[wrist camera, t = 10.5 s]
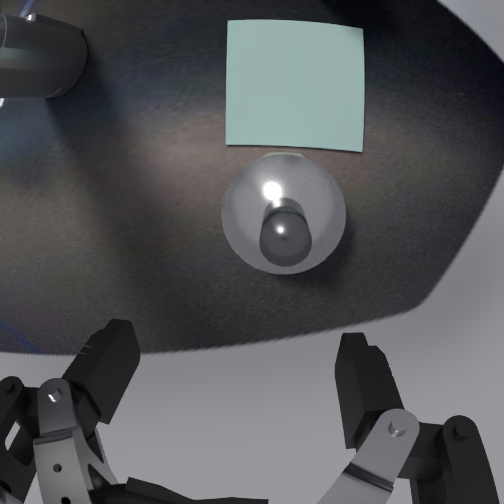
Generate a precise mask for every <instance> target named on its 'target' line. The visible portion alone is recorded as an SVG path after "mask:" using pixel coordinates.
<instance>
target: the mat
mask: <svg viewBox="0 0 504 504" xmlns="http://www.w3.org/2000/svg"><path fill="white" fill-rule="evenodd" d="M363 129H364V43H363V29H360V28H354V27H348V26H341V25H334V24H326V23H317V22H305V21H289V20H234V21H228V36H227V78H226V145H279V146H299V147H314V148H327V149H338V150H349V151H358V152H362V148H363Z"/></svg>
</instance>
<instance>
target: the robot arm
mask: <svg viewBox="0 0 504 504" xmlns="http://www.w3.org/2000/svg"><path fill="white" fill-rule="evenodd" d="M87 52H88V51H87V44H86V42H85V40H84V38H83V37H82V35H81V28H79V27H76V26H73V25H71V24H68V23H65V22H62V21H59V20H56V19H53V18H50V17H47V16H43V15H40V14H36V13H33V14H30V15H29V16H27V17H25V18H22V17H17V16H13V15H8V14H3V13H0V98H25V97H40V98H41V97H42V98H54V97H59V96H62V95H64V94H65V93H67V92H68V91H69V90H70V89H71V88H72V87H73V86H74V85H75V84H76V82H77V81H78V80H79V78H80V76H81V74H82V73H83V70H84V68H85V65H86V60H87ZM139 361H140V348H139V345H138V342H137V338H136V335H135V332H134V328H133V325H132V323H131V322H130V321H128V320H120V319H111V320H110V321H109V323H108V324H107V325H106V327H105V328H104V329H100V330H99V331H98V332H96V333H95V334H93V335H92V336H91V337H90V338H89V340H88V341H87V342H86V344H85V347H84V346H83V348H82V349H81V351H80V354H79V353H78V355H77V356H76V357H75V359H74V360H73V362H72V363H71V365H70V366H69V367H68V369H67V370H66V372H65V373H64V374H63V376H62V378H53V379H49V380H47V381H46V382H44V383H43V384H42V385H41V386H40V388H34V387H25V386H24V384H23V383H22V381H21V380H20V379H19V378H18V377H15V376H9V377H6V378H4V379H3V380H2V381H0V504H23V503H24V501H25V499H26V496H27V493H28V491H29V488H30V486H31V483H32V481H33V478H34V476H35V474H36V471H37V476H38V481H39V486H40V491H41V496H42V500H43V504H268V499H249V498H236V497H229V498H218V499H204V500H193V499H189V498H187V497H184V496H182V495H180V494H178V493H175V492H173V491H171V490H169V489H167V488H165V487H162V486H160V485H157V484H153V483H149V482H145V481H141V480H138V479H134V478H131V477H129V478H128V481H127V483H126V484H119V483H118V481H117V480H116V478H115V476H114V475H113V473H112V472H111V469H110V467H109V465H108V462H107V459H106V456H105V453H104V450H103V447H102V444H101V440H100V437H99V433H98V430H97V428H96V425H97V423H98V421H99V422H102V423H105V424H108V425H109V423H110V421H111V419H112V417H113V415H114V413H115V411H116V409H117V407H118V405H119V402H120V400H121V398H122V396H123V394H124V392H125V390H126V388H127V386H128V384H129V382H130V380H131V378H132V376H133V374H134V372H135V370H136V368H137V366H138V364H139ZM335 380H336V386H337V392H338V398H339V404H340V410H341V417H342V423H343V429H344V437H345V444H346V449H351V448H356V455H355V456H354V458H353V459H352V461H351V462H350V463H349V465H348V466H347V467H346V468H345V469H344V471H343V472H342V473H341V475H340V476H339V477H338V478H337V480H336V481H335V482H334V484H333V485H332V486H331V488H330V489H329V490H328V491H327V492H326V494H325V495H324V496H323V497H322V498H321V500H320V501H319V502H318V503H317V504H385V503H386V502H387V500H388V499H389V497H390V495H391V493H392V491H393V483H394V481H395V479H396V478H405V479H409V480H410V486H411V494H412V501H413V504H499V499H498V495H497V491H496V487H495V483H494V479H493V476H492V472H491V469H490V465H489V462H488V459H487V455H486V452H485V449H484V446H483V443H482V440H481V437H480V434H479V431H478V429H477V426H476V425H475V423H474V422H473V421H472V420H471V419H470V418H468V417H465V416H462V415H457V416H453V417H451V418H449V419H448V420H447V421H446V422H445V423H444V425H440V424H429V423H422V422H419V421H418V420H417V418H416V417H415V416H414V415H413V414H412V413H410V412H408V411H406V410H405V409H404V407H403V404H402V401H401V398H400V395H399V392H398V389H397V387H396V383H395V381H394V378H393V376H392V372H391V370H390V367H389V364H388V362H387V359H386V356H385V354H384V353H383V352H382V351H381V350H380V349H379V348H378V347H377V346H368V343H367V340H366V338H365V335H364V333H362V332H361V333H343V334H342V337H341V342H340V346H339V350H338V354H337V359H336V363H335ZM15 421H16V423H17V424H18V425H19V426H20V429H19V431H18V433H17V435H16V437H15V438H14V440H13V442H12V444H11V446H10V448H9V450H7V449H6V447H5V440H6V437H7V435H8V434H9V432H10V430H11V428H12V426H13V425H14V423H15Z"/></svg>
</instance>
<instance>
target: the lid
mask: <svg viewBox="0 0 504 504" xmlns="http://www.w3.org/2000/svg"><path fill="white" fill-rule="evenodd" d="M221 218H222V225H223V230H224V233H225V236H226V238H227V240H228V242H229V244H230V246H231V247H232V248H233V250H234V251H235V252H236V253H237V254H238V256H239V257H240V258H242V259H243V260H244V261H245V262H247V263H248V264H250V265H251V266H253V267H255V268H257V269H259V270H262V271H265V272H269V273H273V274H294V273H299V272H303V271H306V270H308V269H311V268H313V267H315V266H316V265H318V264H320V263H321V262H322V261H324V260H325V259H326V258H327V257H328V256H329V255H330V254H331V253H332V252H333V251H334V249H335V248H336V246H337V245H338V243H339V241H340V239H341V237H342V234H343V231H344V228H345V222H346V207H345V202H344V198H343V195H342V192H341V190H340V188H339V186H338V184H337V183H336V181H335V180H334V179H333V177H332V176H331V175H330V174H329V173H328V172H327V171H326V170H325V169H324V168H322V167H321V166H320V165H318V164H317V163H315V162H313V161H311V160H309V159H307V158H304V157H301V156H297V155H292V154H275V155H269V156H266V157H263V158H260V159H258V160H256V161H253V162H252V163H250V164H249V165H247V166H246V167H245V168H244V169H242V170H241V171H240V172H239V173H238V174H237V175H236V177H235V178H234V179H233V180H232V182H231V183H230V185H229V187H228V189H227V191H226V193H225V196H224V199H223V203H222V212H221Z"/></svg>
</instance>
